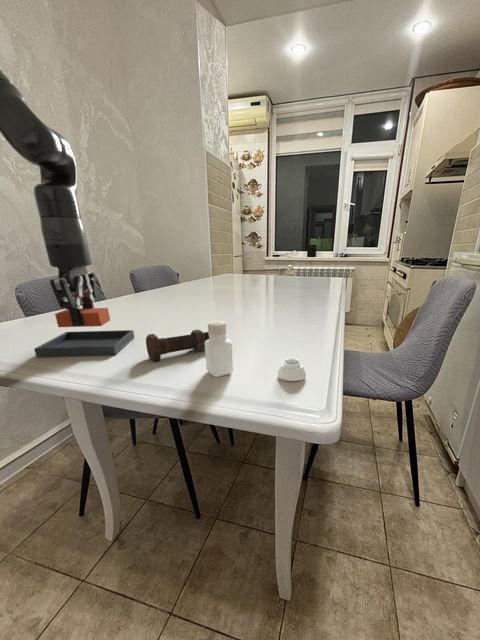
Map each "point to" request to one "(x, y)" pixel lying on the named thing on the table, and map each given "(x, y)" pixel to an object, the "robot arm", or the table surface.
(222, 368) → the white square bottle
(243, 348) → the table surface
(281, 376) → the lidless jar
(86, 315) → the pad
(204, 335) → the bolt
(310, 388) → the table surface
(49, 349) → the tray
